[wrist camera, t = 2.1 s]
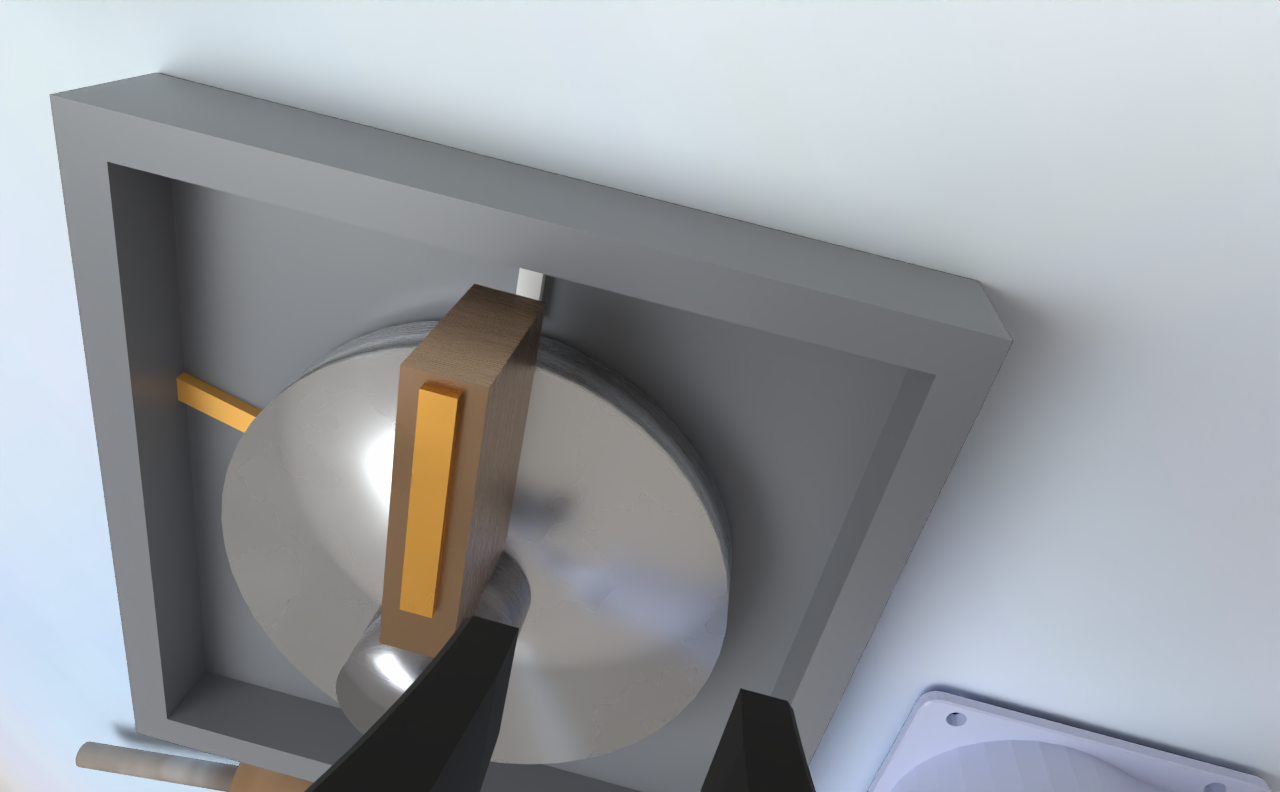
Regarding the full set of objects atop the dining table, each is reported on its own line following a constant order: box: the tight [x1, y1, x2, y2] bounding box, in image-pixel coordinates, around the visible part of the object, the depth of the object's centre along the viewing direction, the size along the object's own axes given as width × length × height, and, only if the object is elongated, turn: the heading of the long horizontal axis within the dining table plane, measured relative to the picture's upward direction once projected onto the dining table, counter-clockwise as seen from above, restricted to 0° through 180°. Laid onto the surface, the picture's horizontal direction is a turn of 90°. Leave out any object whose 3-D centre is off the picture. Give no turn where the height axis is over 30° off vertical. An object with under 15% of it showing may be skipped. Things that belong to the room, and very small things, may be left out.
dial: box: [221, 284, 732, 764], centre depth 18 cm, size 14×12×5 cm
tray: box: [50, 73, 1013, 792], centre depth 21 cm, size 18×18×3 cm
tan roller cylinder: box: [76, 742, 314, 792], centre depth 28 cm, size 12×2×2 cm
